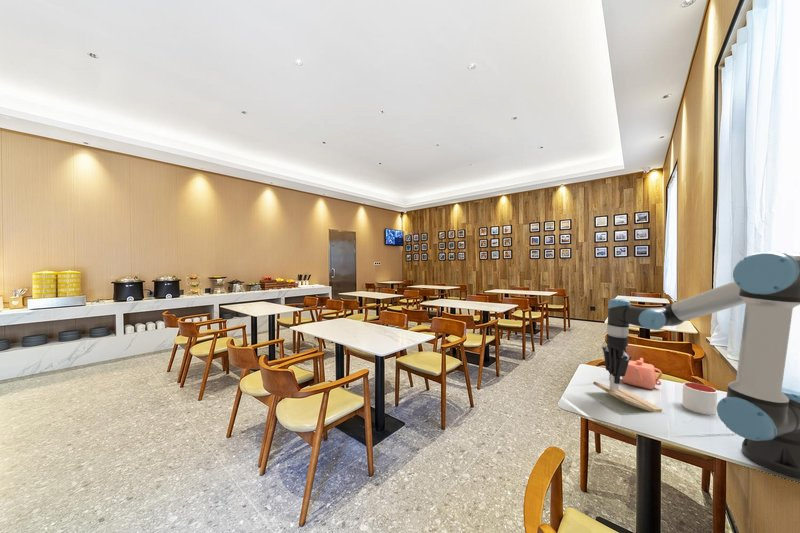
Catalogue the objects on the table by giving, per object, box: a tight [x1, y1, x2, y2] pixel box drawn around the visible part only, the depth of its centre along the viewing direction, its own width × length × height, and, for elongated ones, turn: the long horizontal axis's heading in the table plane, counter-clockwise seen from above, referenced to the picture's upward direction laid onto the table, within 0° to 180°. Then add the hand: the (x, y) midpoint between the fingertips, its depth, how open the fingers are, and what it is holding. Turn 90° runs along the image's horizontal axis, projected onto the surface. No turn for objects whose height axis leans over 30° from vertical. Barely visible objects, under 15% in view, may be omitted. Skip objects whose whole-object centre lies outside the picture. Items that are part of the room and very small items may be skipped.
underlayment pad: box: [585, 389, 666, 416], centre depth 130 cm, size 20×19×2 cm
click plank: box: [592, 381, 652, 412], centre depth 130 cm, size 18×12×1 cm, turn 5°
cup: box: [681, 381, 718, 416], centre depth 125 cm, size 10×10×10 cm
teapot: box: [620, 357, 663, 390], centre depth 149 cm, size 15×17×13 cm
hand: (613, 389), depth 130 cm, fingers closed
